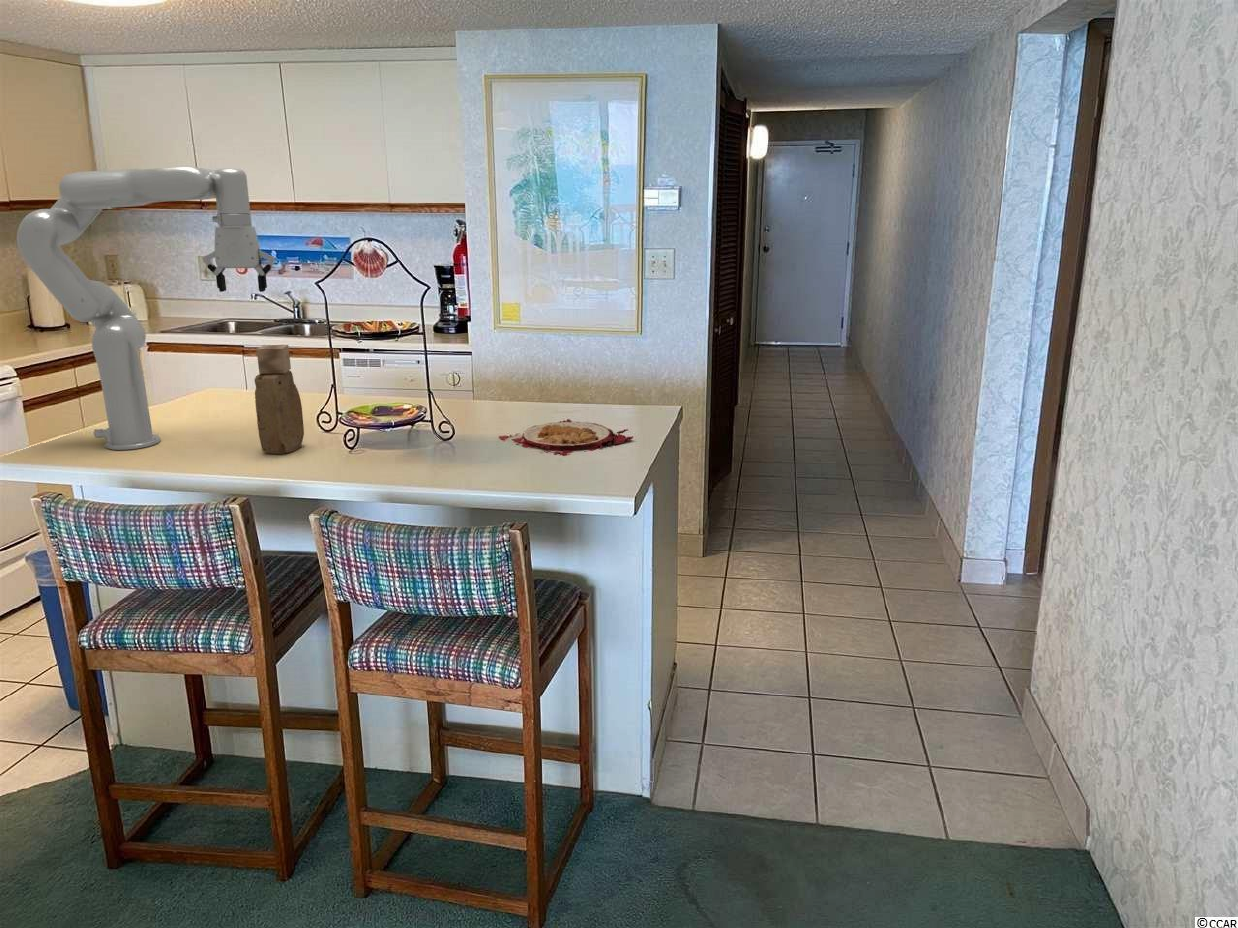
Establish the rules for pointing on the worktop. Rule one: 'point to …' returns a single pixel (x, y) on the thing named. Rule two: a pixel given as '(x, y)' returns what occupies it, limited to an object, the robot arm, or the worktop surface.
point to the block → (278, 413)
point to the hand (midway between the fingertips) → (242, 291)
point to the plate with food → (568, 437)
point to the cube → (273, 359)
